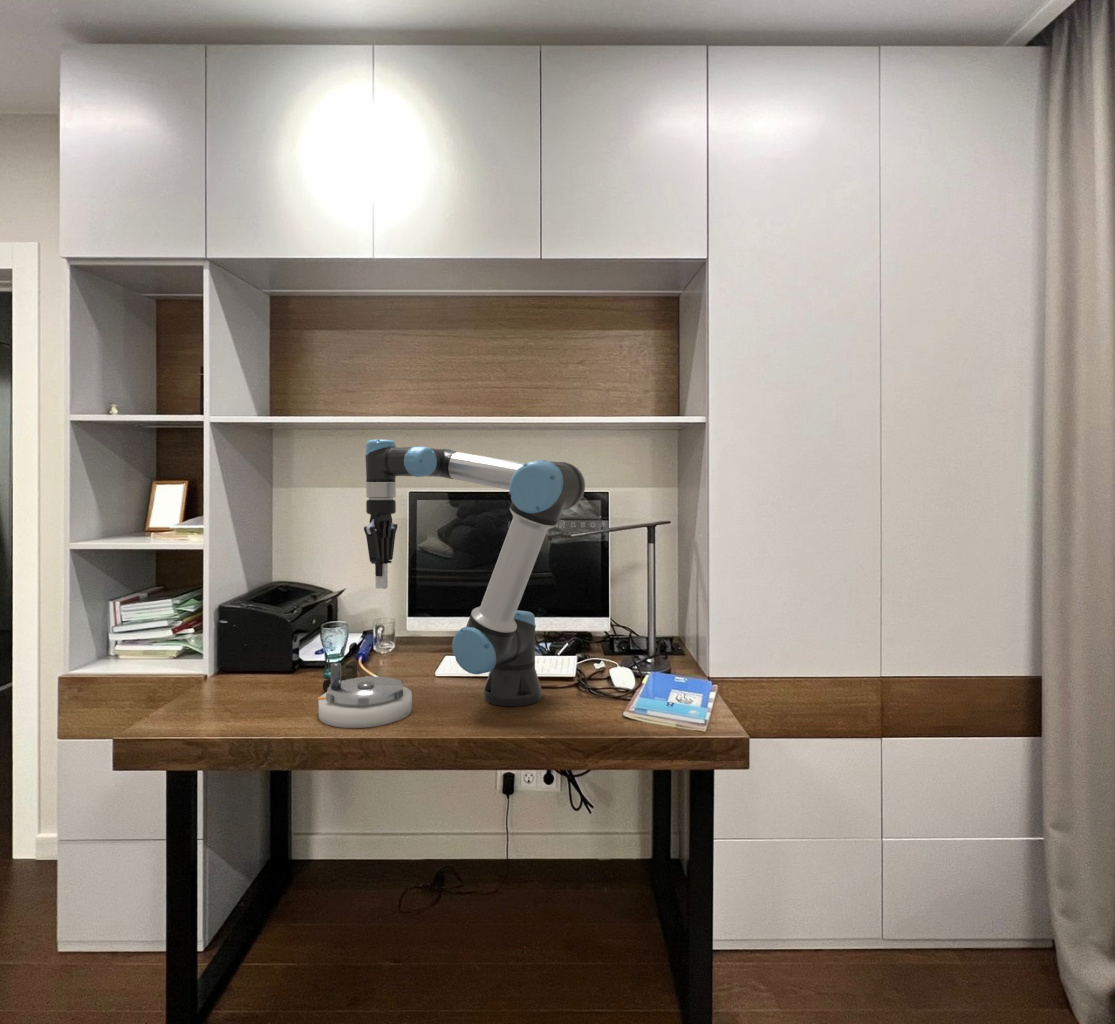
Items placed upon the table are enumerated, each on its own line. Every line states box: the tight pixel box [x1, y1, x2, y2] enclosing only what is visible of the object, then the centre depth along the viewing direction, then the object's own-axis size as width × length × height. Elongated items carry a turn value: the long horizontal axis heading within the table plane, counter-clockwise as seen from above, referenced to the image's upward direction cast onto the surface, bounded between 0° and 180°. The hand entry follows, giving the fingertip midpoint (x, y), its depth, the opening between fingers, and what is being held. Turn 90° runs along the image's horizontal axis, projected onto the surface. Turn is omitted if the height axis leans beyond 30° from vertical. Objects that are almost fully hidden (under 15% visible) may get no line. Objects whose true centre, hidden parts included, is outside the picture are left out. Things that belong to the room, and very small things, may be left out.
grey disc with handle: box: [326, 662, 405, 707], centre depth 173 cm, size 18×19×8 cm
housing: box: [317, 686, 413, 729], centre depth 173 cm, size 22×22×4 cm
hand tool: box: [322, 660, 358, 694], centre depth 198 cm, size 19×4×5 cm, turn 172°
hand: (381, 588), depth 186 cm, fingers closed
